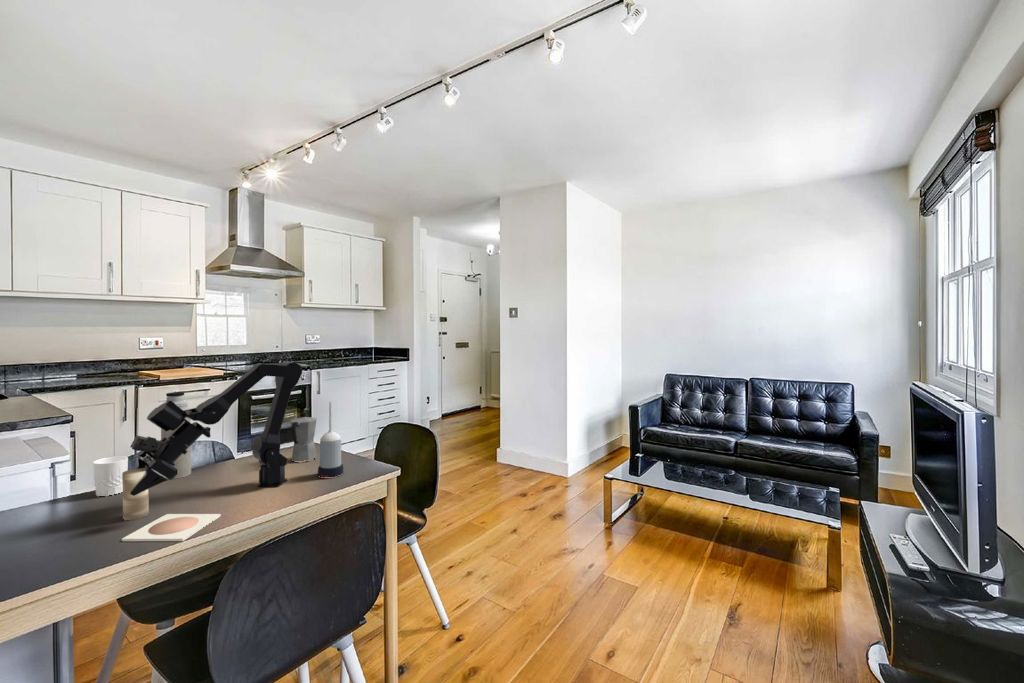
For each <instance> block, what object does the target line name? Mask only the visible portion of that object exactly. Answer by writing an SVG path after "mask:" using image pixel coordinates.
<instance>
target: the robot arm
mask: <svg viewBox="0 0 1024 683" xmlns="http://www.w3.org/2000/svg"><path fill="white" fill-rule="evenodd" d="M302 374H303V368H302V366H301V364H299V363H298V362H294V361H293V362H292V361H282V362H280V363H278V364H277V363H275V364H274V363H261V362H258V363H257V362H256V364H254V365H253V366H252V368H250V369H248V371H247V372H245V373H244V374H243V375H242V376H241V377H239V378H237V380H236V381H234V382H233V383H232V384H230V385H229V386H228V387H227V388H226V389H223V391H222V392H221V393H218V394H217V395H214V396H212V397H210V398H208V399H207V400H204V401H203V402H201V403H200V404H198V405H196V407H193V408H190V409H188V410H184V411H183V410H182V409H181V408H179V407H178V406H176V404H175V403H174V402H172V401H170V400H168V401H167V400H166V401H164V402H163V403H162V404H160V405H159V406H157V407H155V408H154V409H153V410H151V412H150V413H149V414H148V415H147V417H146V420H148V421H149V422H150V423H152V424H153V425H155V426H157V427H158V428H159V429H160V430H161V429H162V430H164V431H169V430H172V431H173V430H175V429H176V430H175V431H174V432H173V433H172V434H171V435H172V436H171V435H170V436H169V437H168V438H167V437H165V438H162V439H161V438H160V440H158V439H157V438H155V437H151V436H141V435H136V436H135V437H134V439H133V441H132V442H131V445H130V446H129V448H131V450H133V451H137V452H138V453H137V457H136V460H137V461H136V463H137V465H136V467H135V469H138V468H145V475H144V476H143V477H142V478H141V480H140V481H139V482H138V483H137V485H136V486H135V487H134V488H133V490H132V491H131V492H130V494H131V495H133V496H135V495H137V494H139V493H141V492H143V491H145V490H147V489H148V490H149V489H150V488H153V487H155V486H158V485H159V484H162V483H164V482H167V481H169V480H170V481H172V480H174V479H173V478H174V477H175V476H176V475H177V468H175V467H174V465H175V464H174V462H175V461H176V460H177V459H178V458H179V457H180V456H181V455H182V454H186V453H187V452H188V451H186V450H187V449H188V448H189V447H190V446H191V447H192V445H193V444H194V443H195V442H196V441H197V440H198V439H199V438H200V437H201V436H202V435H203V436H205V437H206V438H208V439H209V438H211V427H210V426H209V425H215V424H218V423H219V422H220V421H221V420H222V419H223V417H225V415H226V414H227V413H228V411H229V409H230V408H231V406H232V405H233V404H234V403H235V402H237V400H239V399H240V398H241V397H243V395H245V394H246V393H247V392H248V391H250V389H252V388H253V387H254V386H255V385H257V384H258V383H259V382H261V381H262V379H263V378H265V377H275V378H274V380H275V382H274V383H275V391H274V394H273V397H272V401H271V405H270V408H269V412H268V415H267V419H266V421H265V425H264V429H263V432H261V434H260V435H259V436H256V435H255V436H254V438H253V444H252V446H251V447H250V449H251V451H252V452H251V453H252V455H253V457H254V459H257V460H258V462H259V464H260V465H259V466H260V468H259V470H258V484H257V487H259V488H261V487H264V488H266V487H269V486H271V487H273V488H275V487H277V486H278V487H279V485H280V486H281V485H282V483H283V484H284V483H285V482H287V481H288V478H286V471H285V470H286V467H285V466H287V462H288V458H287V457H286V456H284V455H283V454H282V453H280V452H281V439H280V438H281V436H280V433H281V429H282V426H283V422H284V418H285V416H286V412H287V408H288V404H289V401H290V397H291V394H292V391H293V390H294V388H296V386H297V384H298V383H299V381H300V379H301V377H302ZM186 417H187V418H189V419H191V420H192V421H194V422H192V423H190V422H188V421H187V420H186V419H185V418H186ZM183 422H184V423H183ZM199 422H200V423H202V424H203V425H208V426H206V427H205V426H203V425H201V424H200V423H199ZM182 423H183V424H182ZM181 424H182V425H181ZM180 425H181V426H180ZM179 426H180V427H179ZM186 445H187V446H186ZM166 477H167V478H168V479H167V478H166ZM286 480H287V481H286ZM271 487H269V488H271ZM278 487H277V488H278Z"/></svg>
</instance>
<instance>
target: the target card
mask: <svg viewBox="0 0 1024 683" xmlns="http://www.w3.org/2000/svg"><path fill="white" fill-rule="evenodd" d="M220 517H221V513H166V514H165V515H163V516H161V517H159V518H157V519H155V520H153V521H151V522H150V523H148V524H146V525H145V526H142V527H140V528H139V529H136V530H135V531H133V532H132V533H129V534H128V535H126V536H124V537H122V538H121V542H183V541H185V540H187V539H188V538H190V537H191V536H193V535H194V534H196V533H197V532H199V531H201V530H202V529H204V528H206V527H207V526H208V525H210V524H211V523H213V522H214V521H217V519H218V518H220ZM212 521H213V522H212ZM209 523H210V524H209ZM206 525H207V526H206ZM203 527H204V528H203Z"/></svg>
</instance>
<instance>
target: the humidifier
mask: <svg viewBox="0 0 1024 683" xmlns="http://www.w3.org/2000/svg"><path fill="white" fill-rule="evenodd" d="M332 403H333V402H332V401H329V403H328V404H329V407H328V408H329V409H328V411H329V416H328V418H329V419H328V428H329V429H328V431H327V432H325V433H324V434H323V435H322V436H321V437H320V442H319V466H318V468H317V477H318V476H320V477H335V476H338V475H341V474H342V473H343V474H344V465H343V463H342V437H341V436H340V434H338V433H337V432H335V431H333V410H332V408H333V404H332Z"/></svg>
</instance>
